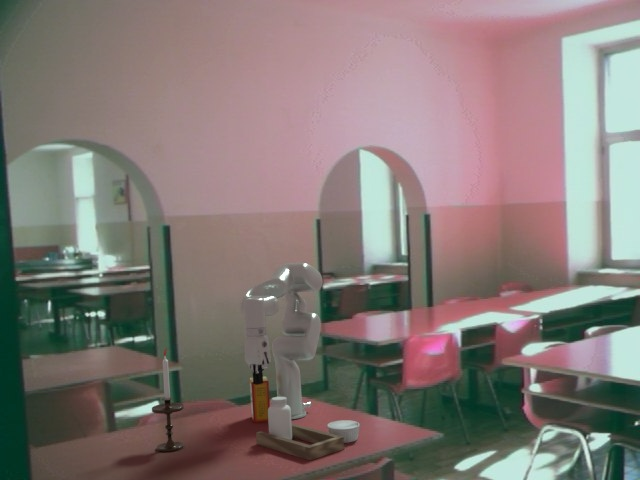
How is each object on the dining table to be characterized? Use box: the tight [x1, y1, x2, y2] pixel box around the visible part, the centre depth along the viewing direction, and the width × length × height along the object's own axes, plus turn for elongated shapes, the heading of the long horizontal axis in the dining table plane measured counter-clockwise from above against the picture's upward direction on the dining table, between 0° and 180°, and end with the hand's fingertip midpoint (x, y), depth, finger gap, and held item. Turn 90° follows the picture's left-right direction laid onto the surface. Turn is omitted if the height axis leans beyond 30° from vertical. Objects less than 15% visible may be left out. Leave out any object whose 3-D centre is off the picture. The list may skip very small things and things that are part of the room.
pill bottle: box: [267, 396, 293, 440], centre depth 247 cm, size 8×8×15 cm
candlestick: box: [151, 347, 185, 453], centre depth 246 cm, size 11×11×35 cm
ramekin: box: [326, 419, 361, 444], centre depth 245 cm, size 11×11×5 cm
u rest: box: [255, 423, 345, 461], centre depth 239 cm, size 15×28×4 cm, turn 42°
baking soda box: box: [248, 375, 271, 424], centre depth 278 cm, size 10×6×16 cm
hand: (258, 383), depth 254 cm, fingers closed
